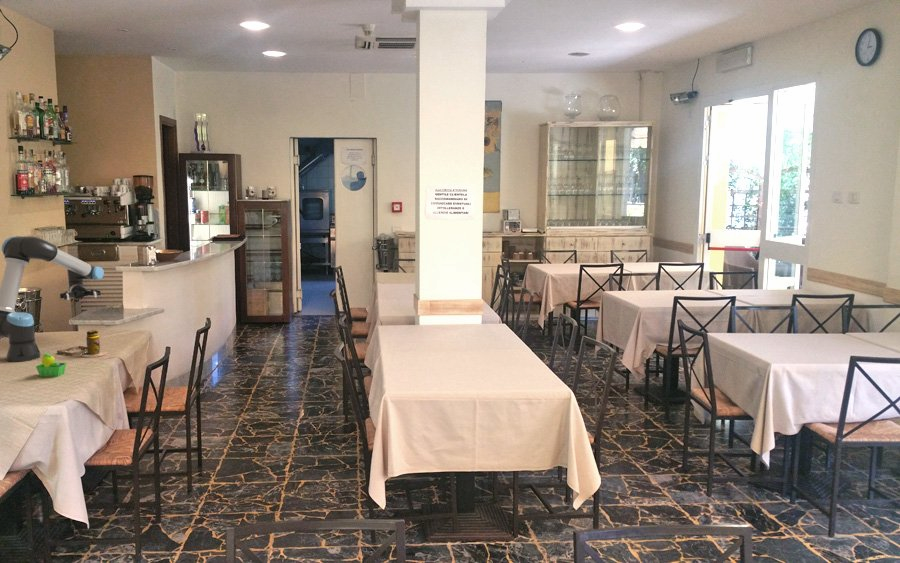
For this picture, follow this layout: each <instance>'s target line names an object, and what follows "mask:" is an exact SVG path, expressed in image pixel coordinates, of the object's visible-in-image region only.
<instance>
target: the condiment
mask: <svg viewBox="0 0 900 563" xmlns="http://www.w3.org/2000/svg"><path fill="white" fill-rule="evenodd" d="M86 347H87V352H88V353H82V354H83V355H84V356H89V355H97V354H102V353H101V352H100V351H101V344H100V336H99V331H98V330H93V329H92V330H88V331H86ZM82 354H81V355H82Z"/></svg>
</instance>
